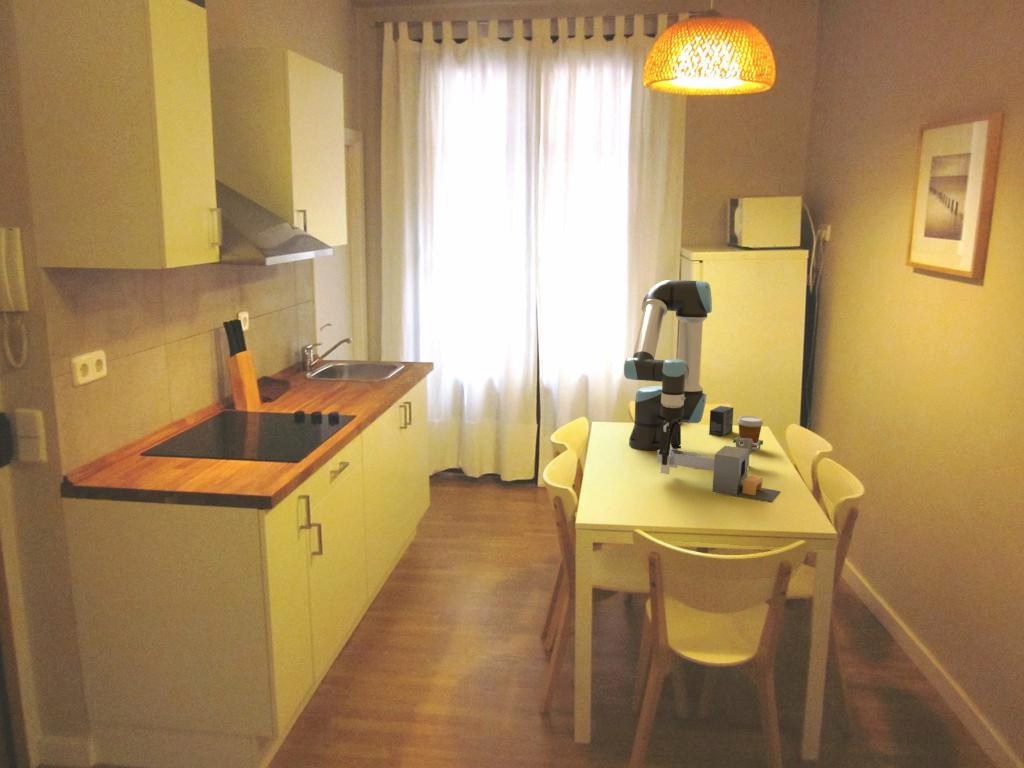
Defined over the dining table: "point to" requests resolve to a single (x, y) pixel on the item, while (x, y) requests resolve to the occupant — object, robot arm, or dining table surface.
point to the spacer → (752, 484)
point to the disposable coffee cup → (750, 428)
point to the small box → (721, 421)
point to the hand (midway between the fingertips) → (669, 470)
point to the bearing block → (730, 470)
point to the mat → (761, 495)
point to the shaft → (690, 460)
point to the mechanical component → (747, 444)
